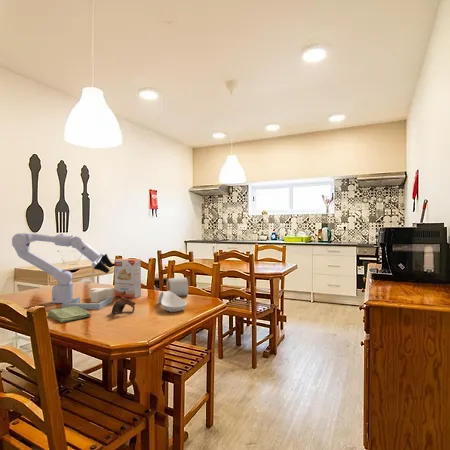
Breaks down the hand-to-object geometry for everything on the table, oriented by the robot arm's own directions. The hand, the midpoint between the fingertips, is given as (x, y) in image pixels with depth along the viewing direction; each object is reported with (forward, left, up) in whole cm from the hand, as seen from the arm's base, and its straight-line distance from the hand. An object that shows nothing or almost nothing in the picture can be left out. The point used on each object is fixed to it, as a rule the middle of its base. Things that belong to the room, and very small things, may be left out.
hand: (110, 268), depth 174 cm
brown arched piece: (+18, -32, -16) cm, 40 cm away
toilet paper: (+36, +5, -16) cm, 40 cm away
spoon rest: (+37, -22, -16) cm, 46 cm away
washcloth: (-4, -37, -17) cm, 41 cm away
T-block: (-5, -3, -16) cm, 17 cm away
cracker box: (+8, +4, -16) cm, 19 cm away
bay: (-5, -17, -16) cm, 24 cm away
